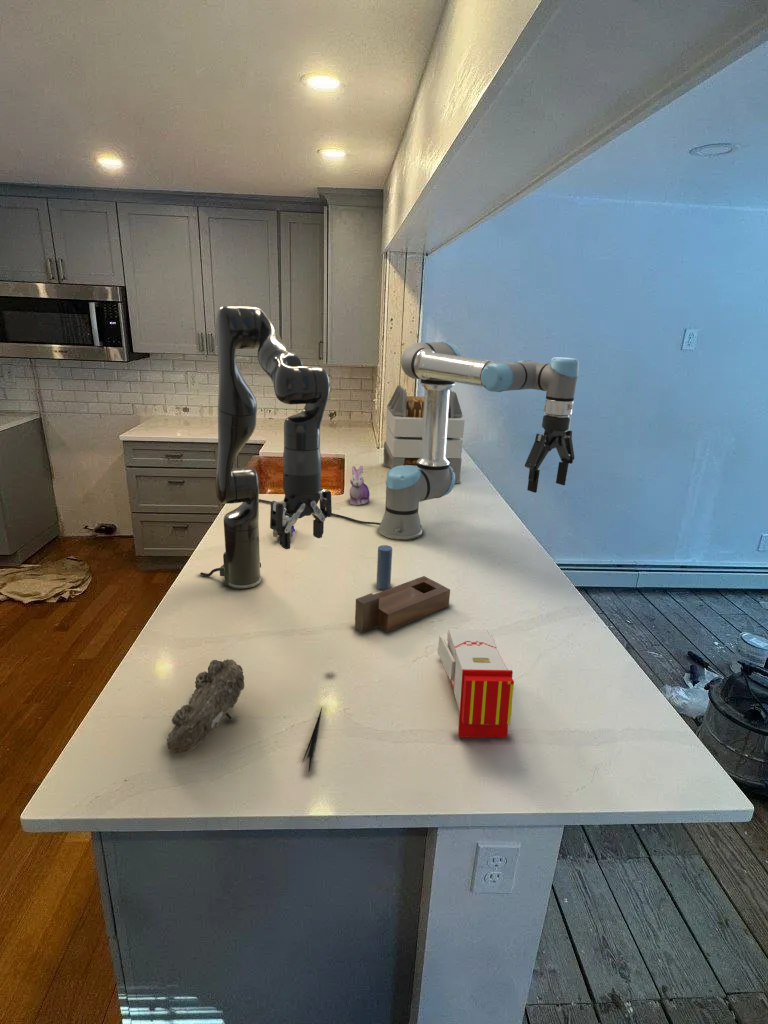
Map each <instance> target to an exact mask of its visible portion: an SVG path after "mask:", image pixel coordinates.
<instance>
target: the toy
mask: <svg viewBox="0 0 768 1024" xmlns="http://www.w3.org/2000/svg"><path fill="white" fill-rule="evenodd" d="M446 640H447V643H446V641H445V639H444V636H443V635H442V634H439V637H438V646H437V656H438V657H439V659H440V661H441V663H442V666H443V668H444V670H445V672H446V674H447V677H448V679H449V681H450V684H451V687H452V690H453V693H454V697H455V701H456V705H457V708H458V711H459V714H458V715H459V716H458V730H457V731H458V732H457V737H458V738H508V731H509V726H510V725H511V717H512V707H513V697H514V696H513V695H514V684H515V680H514V679H513V673H514V671H513V670H512V669H508V667H507V665H506V662H505V661H504V659H503V658H502V655H501V653H500V651H499V649H498V647H497V643H496V639H495V637H494V635H493V634H491V632H490V631H489V629H467V628H466V629H465V628H463V629H461V628H460V629H459V628H448V630H447V639H446Z"/></svg>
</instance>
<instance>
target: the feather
mask: <svg viewBox="0 0 768 1024" xmlns="http://www.w3.org/2000/svg"><path fill="white" fill-rule="evenodd" d="M329 675H330V676H331V675H332V674H331V673H330V674H329ZM322 710H323V707H321V708H320V710H319V713H318V716H317V719H316V723H315V725H314V728H313V731H312V733H311V737H310V739H309V742H308V745H307V748H306V751H305V754H304V757H303V760H302V763H301V767H302V765H303V763H304V761H305V758H308V759H309V760H308V762H307V763H308V764H307V766H308V771H310V770H311V766H312V765H311V764H312V760H313V757H315V756H314V755H315V751H316V749H315V746H317V739H318V733H319V729H320V722H321V717H322V712H323V711H322ZM313 754H314V755H313ZM306 755H307V757H306Z"/></svg>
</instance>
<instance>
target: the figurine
mask: <svg viewBox="0 0 768 1024" xmlns="http://www.w3.org/2000/svg"><path fill="white" fill-rule="evenodd" d="M363 471H364V465H360V466H359V467H358V469H357V468H356V466H354V465H353V466H351V472H352V475H351V476H350V479H349V482H350V485H351V486H350V489H349V499H348V501H349V502H348V503H349V504H350V505H353V506H360V505H365V504H367V503H369V501H370V489H369V486H368V485H367V484H366V483H365V479H364V476H363Z"/></svg>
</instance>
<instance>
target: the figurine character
mask: <svg viewBox="0 0 768 1024" xmlns="http://www.w3.org/2000/svg"><path fill="white" fill-rule="evenodd" d="M284 510H285V508H284ZM289 517H290V518H291V517H292V515H291V514H289ZM287 522H288V521H287ZM287 522H286V524H287ZM286 524H285V525H286ZM295 524H296V523H295ZM295 524H293V525H292V527H291V529H290V531H289V532H290V538H291V537H293V534H294V533H295V532H296V529H295ZM272 537H273V538H277V542H279V532H277V531H275V530H273V529H272Z"/></svg>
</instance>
